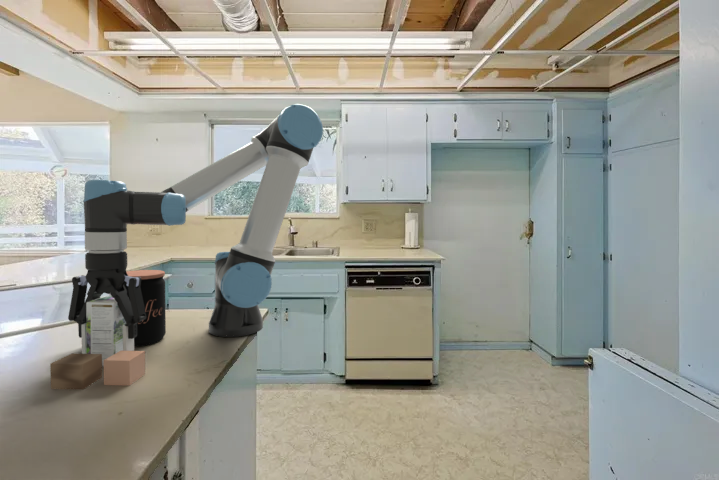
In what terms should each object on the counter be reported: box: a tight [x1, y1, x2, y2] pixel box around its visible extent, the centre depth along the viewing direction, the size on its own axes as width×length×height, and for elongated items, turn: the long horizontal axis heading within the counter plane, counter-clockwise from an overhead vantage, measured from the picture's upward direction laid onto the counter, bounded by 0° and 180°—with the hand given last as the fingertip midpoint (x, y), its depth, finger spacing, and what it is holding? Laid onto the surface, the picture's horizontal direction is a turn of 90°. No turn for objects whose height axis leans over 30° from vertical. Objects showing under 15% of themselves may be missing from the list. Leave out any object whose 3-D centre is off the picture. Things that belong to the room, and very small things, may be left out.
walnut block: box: [49, 353, 103, 391], centre depth 68 cm, size 6×5×5 cm
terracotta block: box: [103, 350, 146, 386], centre depth 70 cm, size 5×5×5 cm
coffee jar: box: [118, 269, 167, 348], centre depth 92 cm, size 11×11×18 cm
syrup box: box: [86, 295, 129, 368], centre depth 78 cm, size 6×6×14 cm
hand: (108, 351), depth 78 cm, fingers open, 8 cm apart
